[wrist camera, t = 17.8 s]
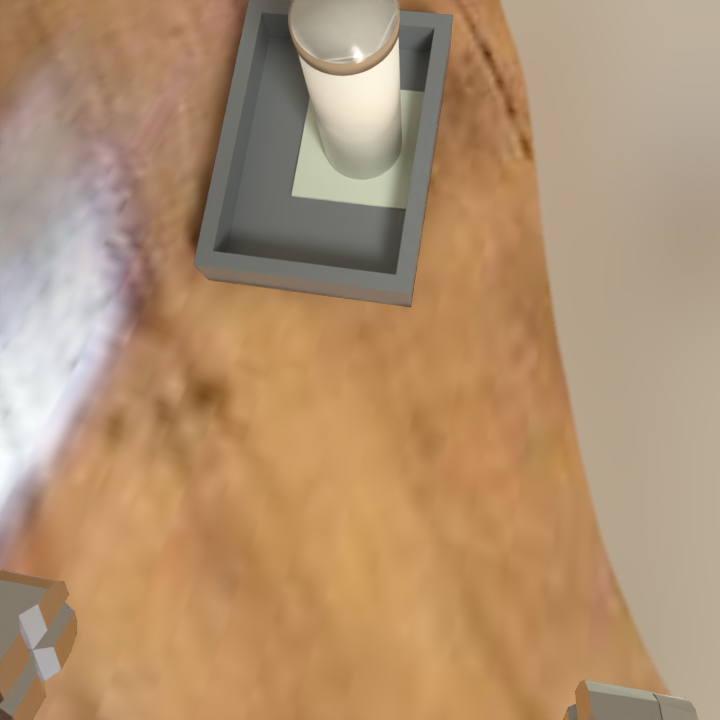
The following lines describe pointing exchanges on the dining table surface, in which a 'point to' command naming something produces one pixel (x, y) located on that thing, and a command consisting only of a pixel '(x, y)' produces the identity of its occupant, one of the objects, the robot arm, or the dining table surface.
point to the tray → (318, 173)
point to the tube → (352, 80)
